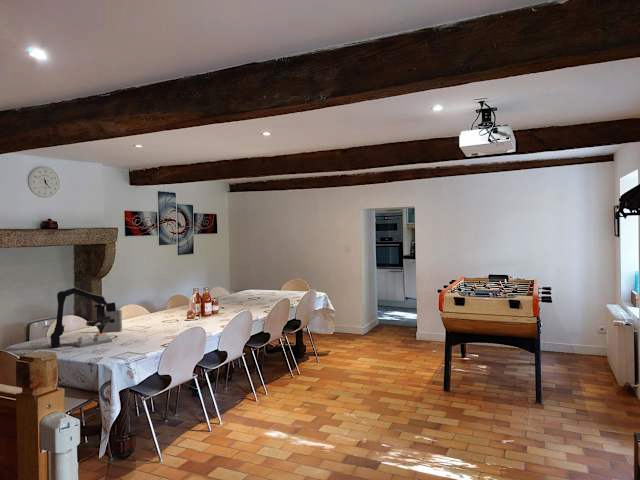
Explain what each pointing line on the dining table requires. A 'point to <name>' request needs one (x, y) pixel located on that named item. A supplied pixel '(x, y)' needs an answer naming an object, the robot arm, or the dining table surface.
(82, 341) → the key panel
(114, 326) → the hip flask
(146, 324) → the dining table surface
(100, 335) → the key terracotta
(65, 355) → the dining table surface
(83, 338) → the key ivory
